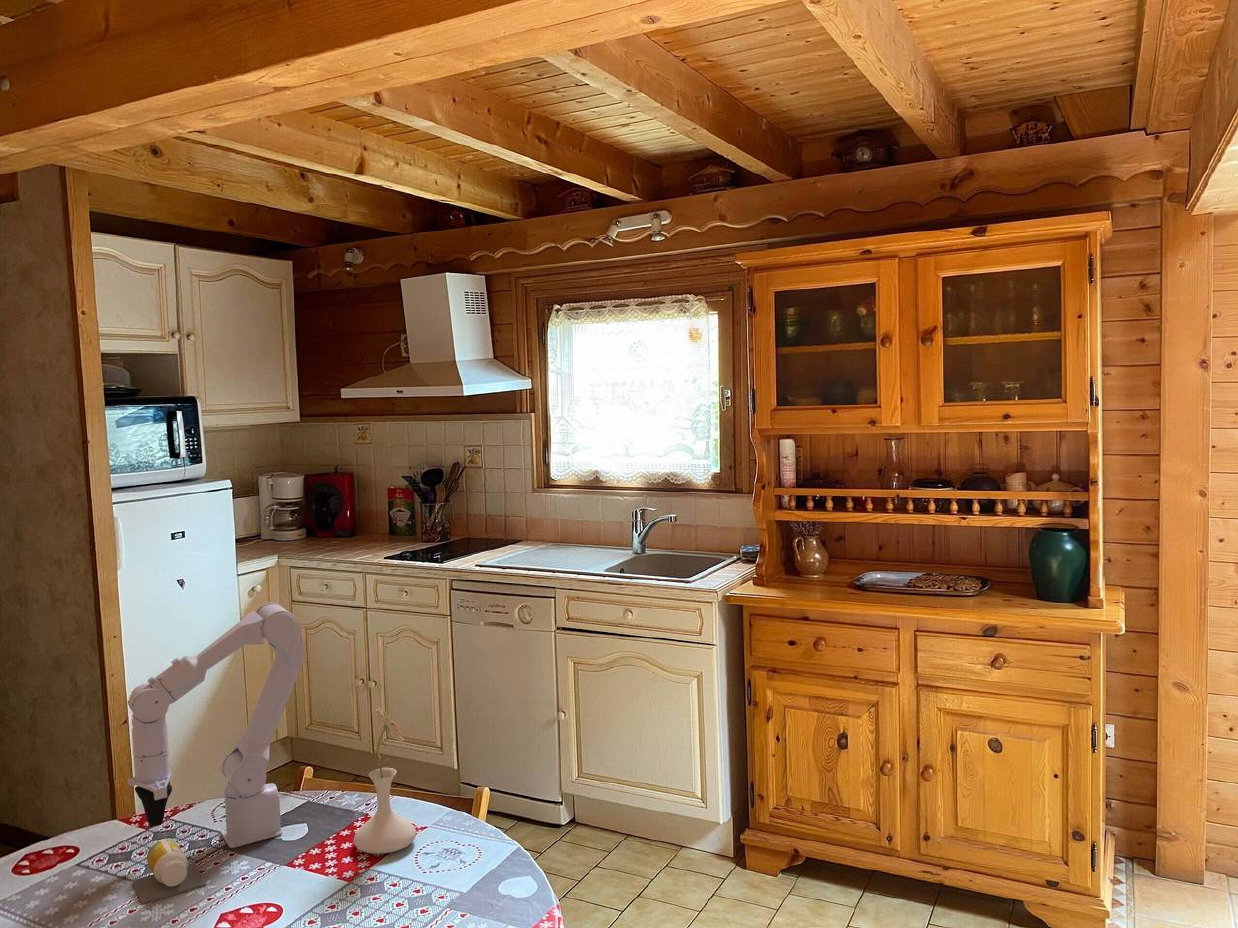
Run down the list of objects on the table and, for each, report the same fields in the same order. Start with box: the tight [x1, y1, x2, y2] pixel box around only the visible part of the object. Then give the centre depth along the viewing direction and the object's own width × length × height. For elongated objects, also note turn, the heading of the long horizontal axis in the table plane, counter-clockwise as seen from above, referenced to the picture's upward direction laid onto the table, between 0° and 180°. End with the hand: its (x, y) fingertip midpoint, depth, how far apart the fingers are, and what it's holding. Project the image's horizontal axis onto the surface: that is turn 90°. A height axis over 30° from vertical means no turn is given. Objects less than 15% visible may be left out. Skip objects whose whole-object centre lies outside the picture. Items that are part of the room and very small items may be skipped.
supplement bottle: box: [146, 838, 189, 886], centre depth 167 cm, size 5×5×10 cm
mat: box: [132, 862, 207, 905], centre depth 166 cm, size 10×9×1 cm
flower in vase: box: [352, 707, 417, 855], centre depth 178 cm, size 13×11×25 cm
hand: (155, 824), depth 175 cm, fingers closed
